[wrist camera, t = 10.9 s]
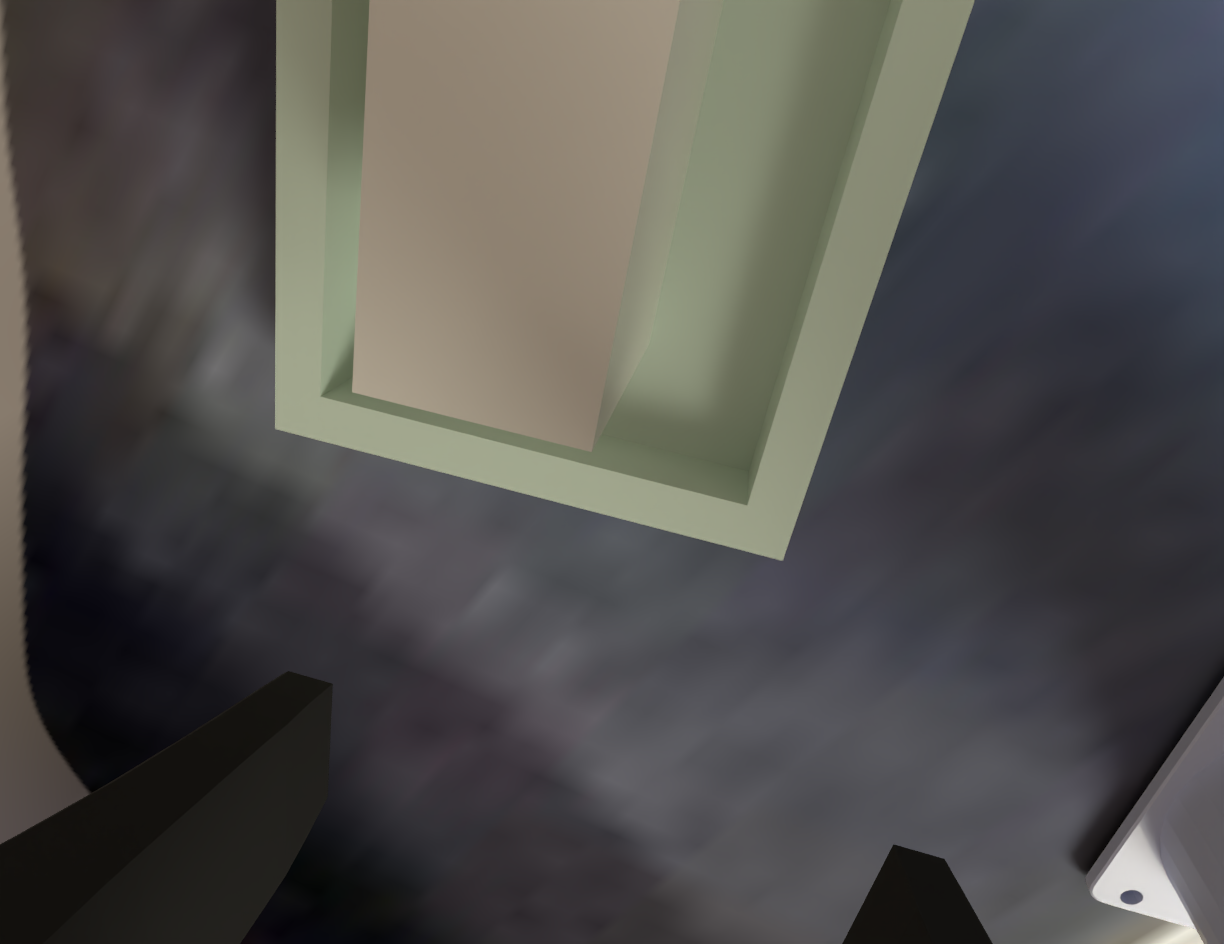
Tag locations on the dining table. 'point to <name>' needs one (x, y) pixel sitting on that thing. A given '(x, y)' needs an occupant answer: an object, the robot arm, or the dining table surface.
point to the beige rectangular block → (521, 202)
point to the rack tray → (694, 275)
